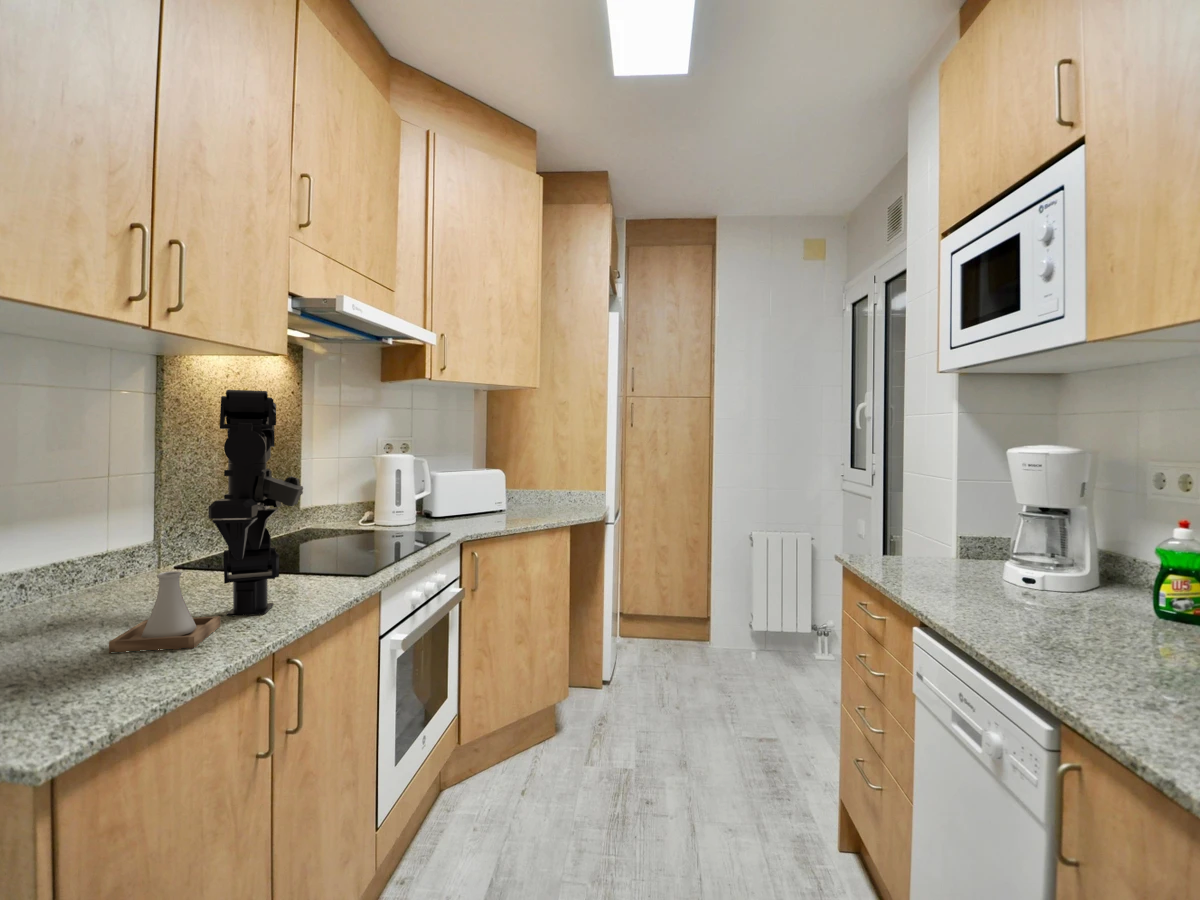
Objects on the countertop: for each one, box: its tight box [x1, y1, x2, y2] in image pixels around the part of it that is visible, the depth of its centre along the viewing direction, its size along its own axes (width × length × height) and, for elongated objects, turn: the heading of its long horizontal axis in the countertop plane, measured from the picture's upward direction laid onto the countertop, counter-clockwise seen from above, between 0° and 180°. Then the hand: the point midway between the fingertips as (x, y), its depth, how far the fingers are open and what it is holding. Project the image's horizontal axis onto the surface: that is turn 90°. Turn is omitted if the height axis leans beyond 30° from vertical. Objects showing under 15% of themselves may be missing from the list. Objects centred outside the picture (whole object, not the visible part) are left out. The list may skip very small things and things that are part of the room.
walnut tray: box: [108, 615, 222, 654], centre depth 103 cm, size 12×12×2 cm
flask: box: [141, 570, 197, 638], centre depth 103 cm, size 7×7×10 cm
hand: (247, 554), depth 109 cm, fingers open, 9 cm apart
